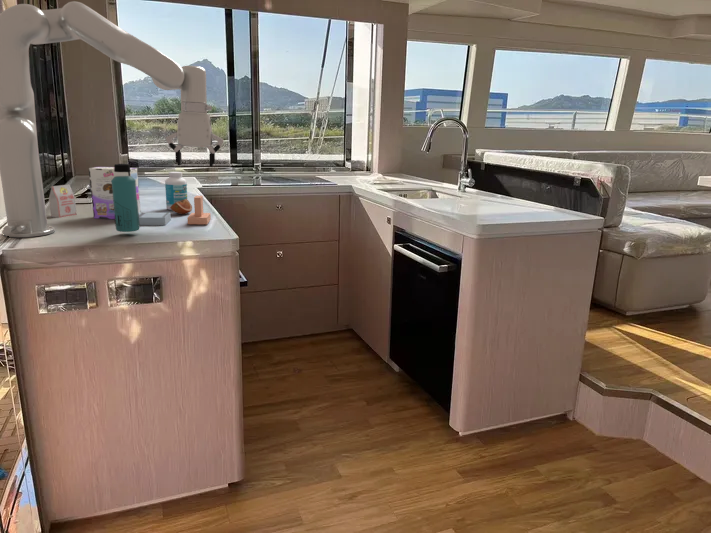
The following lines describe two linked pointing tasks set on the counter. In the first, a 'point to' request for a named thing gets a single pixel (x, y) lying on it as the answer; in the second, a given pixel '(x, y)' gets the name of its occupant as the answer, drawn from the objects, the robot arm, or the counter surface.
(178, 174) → the pill bottle
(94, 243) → the counter surface
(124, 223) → the beverage bottle
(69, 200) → the gable top carton
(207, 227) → the counter surface
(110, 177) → the candy box
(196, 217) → the stub
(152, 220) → the flat grey block
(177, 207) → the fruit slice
